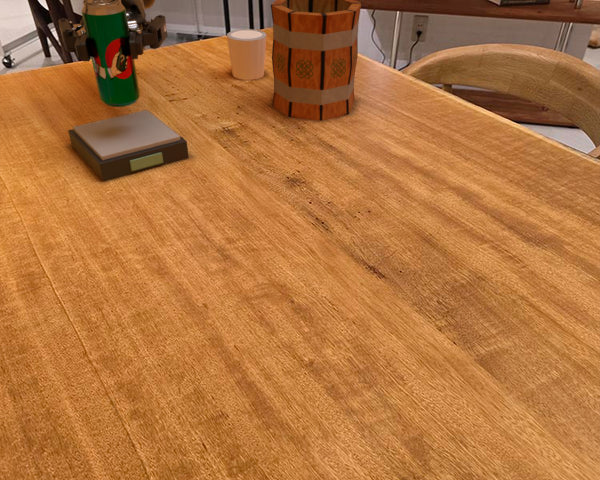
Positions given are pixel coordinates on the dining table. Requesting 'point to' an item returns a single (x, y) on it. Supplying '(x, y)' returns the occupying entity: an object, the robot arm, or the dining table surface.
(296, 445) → the dining table surface
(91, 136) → the scale
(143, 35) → the robot arm
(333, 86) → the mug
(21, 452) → the dining table surface
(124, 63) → the soda can
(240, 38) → the white cup
